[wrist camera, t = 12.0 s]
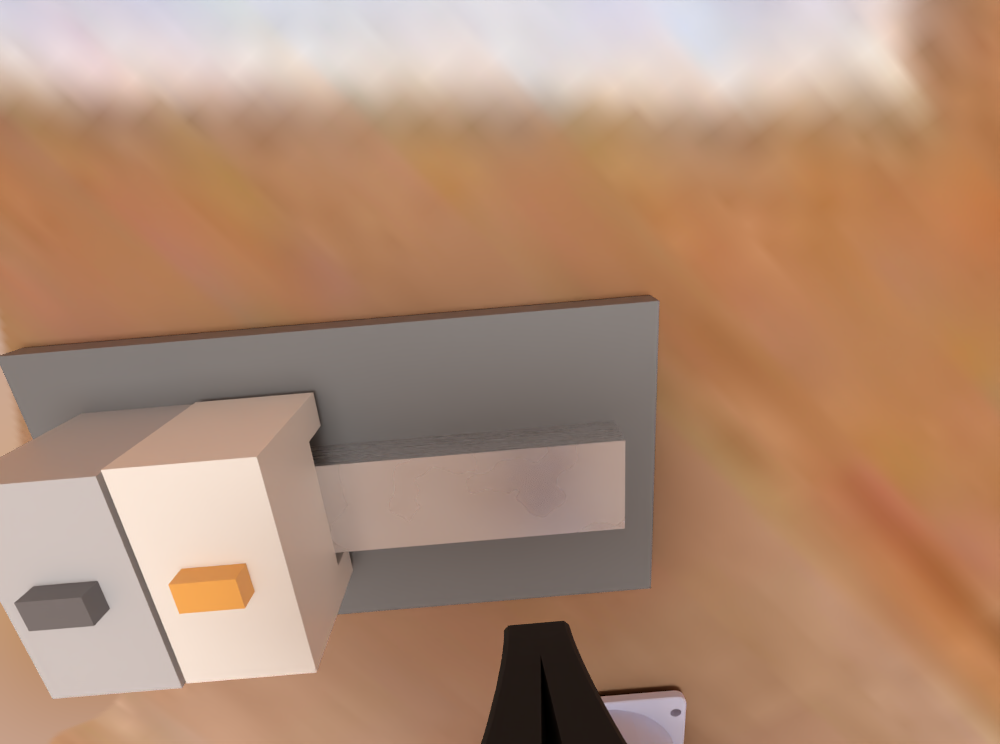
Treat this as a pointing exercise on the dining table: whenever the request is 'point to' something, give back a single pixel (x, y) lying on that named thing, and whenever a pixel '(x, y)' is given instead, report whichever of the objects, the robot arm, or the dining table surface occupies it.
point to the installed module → (80, 561)
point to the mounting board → (411, 418)
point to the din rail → (473, 486)
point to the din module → (234, 536)
